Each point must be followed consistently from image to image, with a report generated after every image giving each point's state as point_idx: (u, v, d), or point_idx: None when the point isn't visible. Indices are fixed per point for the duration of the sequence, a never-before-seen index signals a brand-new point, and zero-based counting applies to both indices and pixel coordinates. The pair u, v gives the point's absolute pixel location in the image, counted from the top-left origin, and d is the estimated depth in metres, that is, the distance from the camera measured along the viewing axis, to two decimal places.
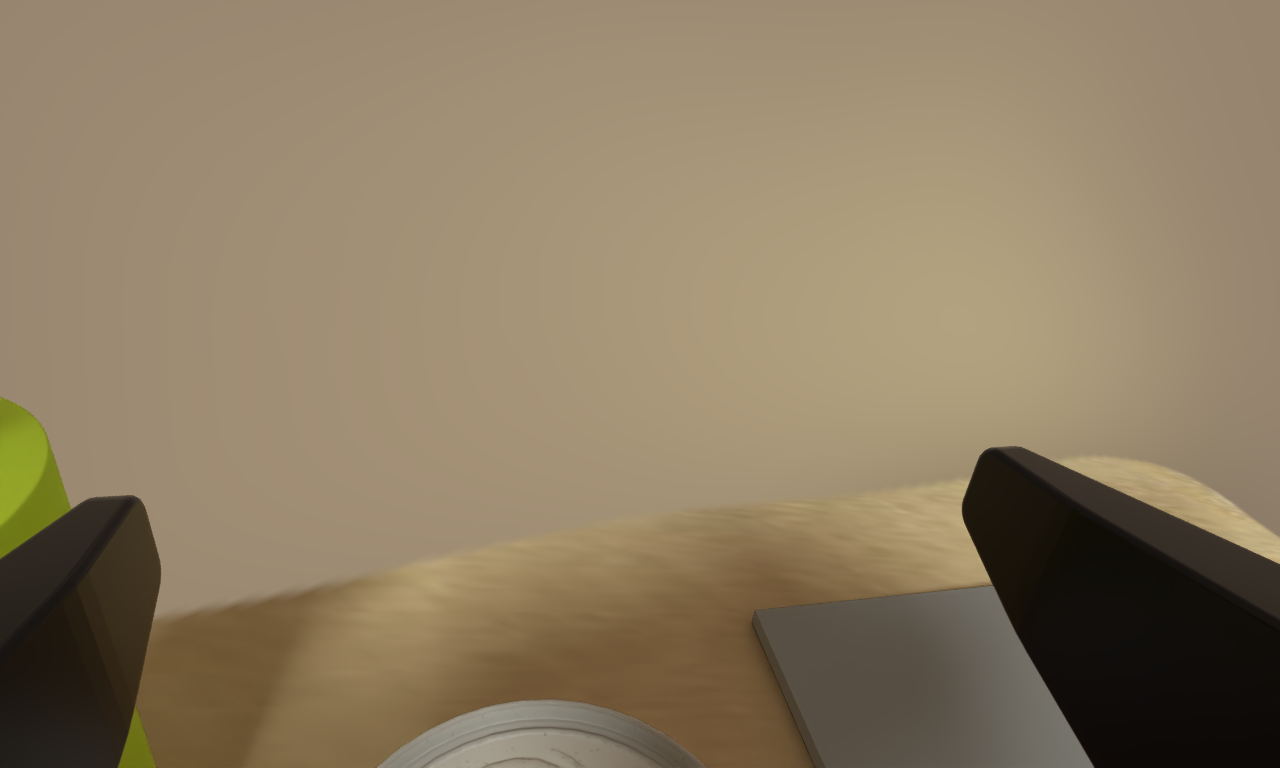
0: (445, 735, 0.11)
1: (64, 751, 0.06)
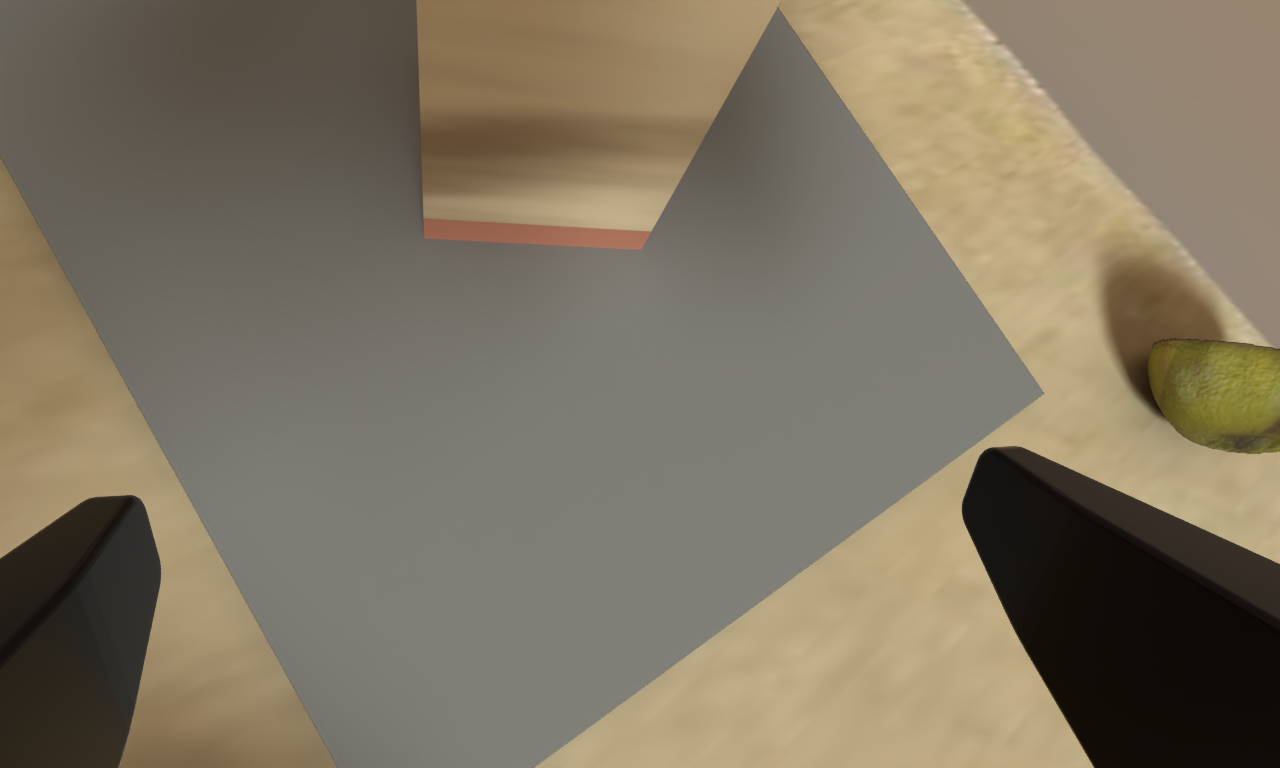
0: None
1: (64, 751, 0.06)
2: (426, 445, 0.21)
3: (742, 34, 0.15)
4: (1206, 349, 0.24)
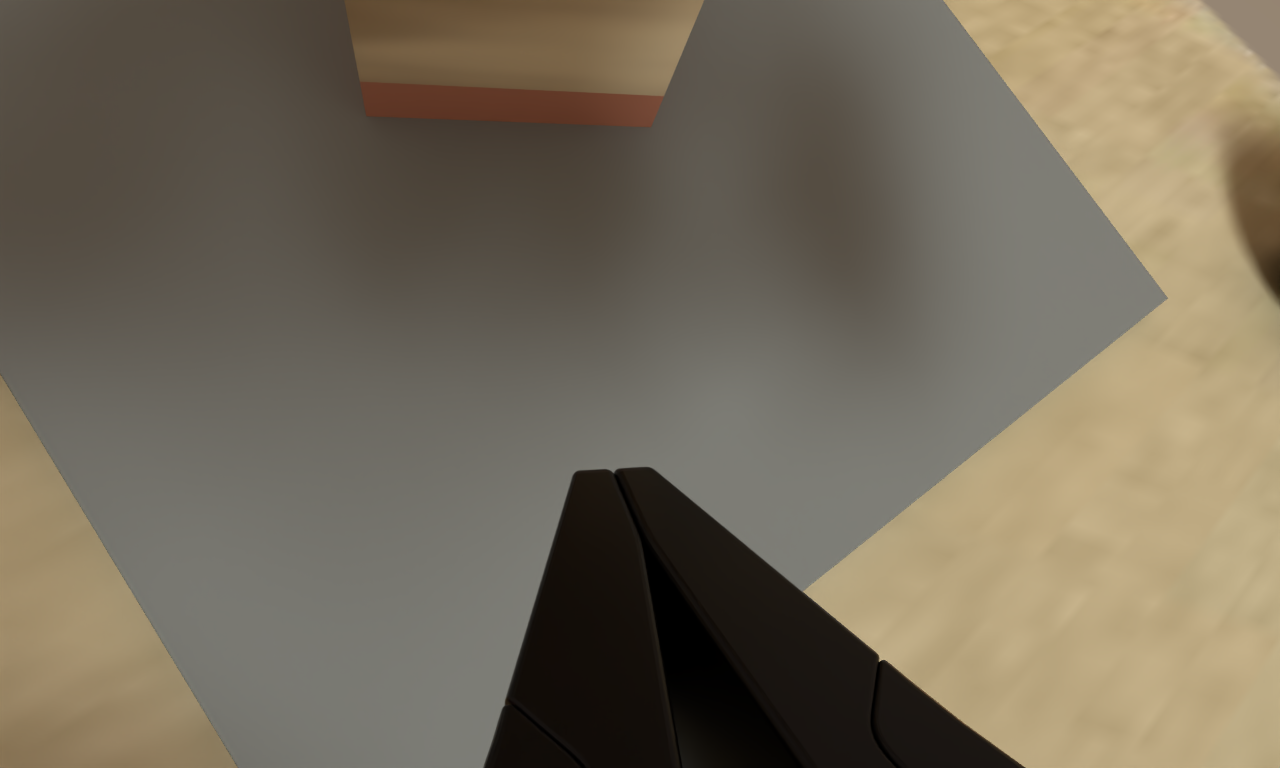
0: None
1: None
2: (377, 383, 0.15)
3: None
4: None
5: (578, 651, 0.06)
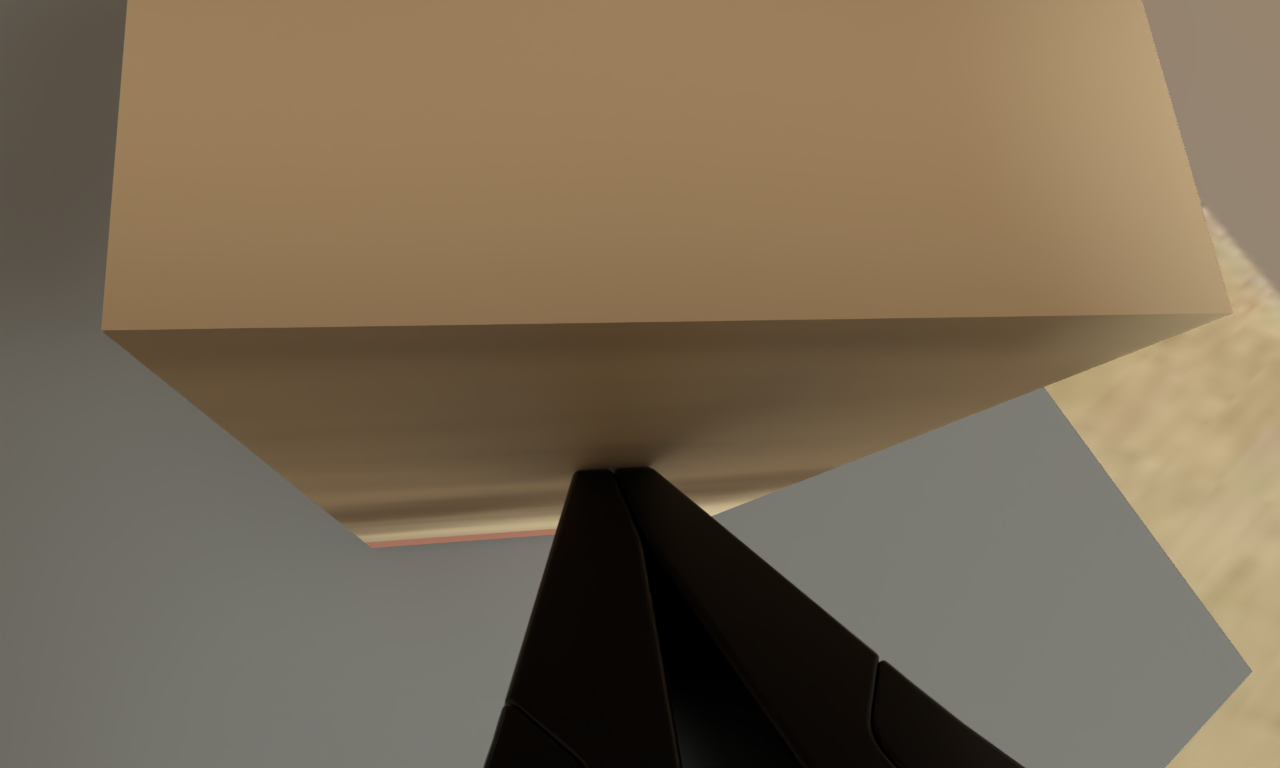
0: None
1: None
2: None
3: (926, 418, 0.07)
4: None
5: (578, 651, 0.06)
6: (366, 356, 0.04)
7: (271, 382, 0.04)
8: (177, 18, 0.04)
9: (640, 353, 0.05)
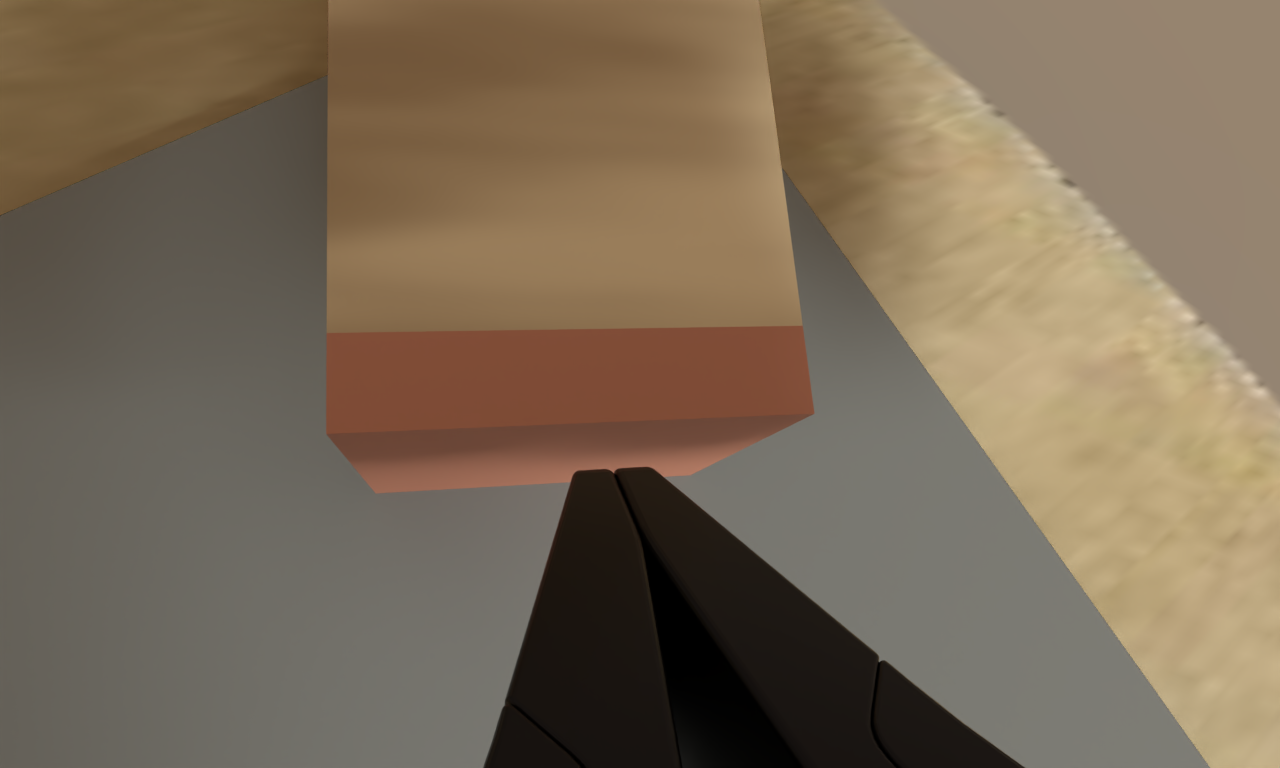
0: None
1: None
2: None
3: None
4: None
5: (578, 651, 0.06)
6: None
7: None
8: None
9: None
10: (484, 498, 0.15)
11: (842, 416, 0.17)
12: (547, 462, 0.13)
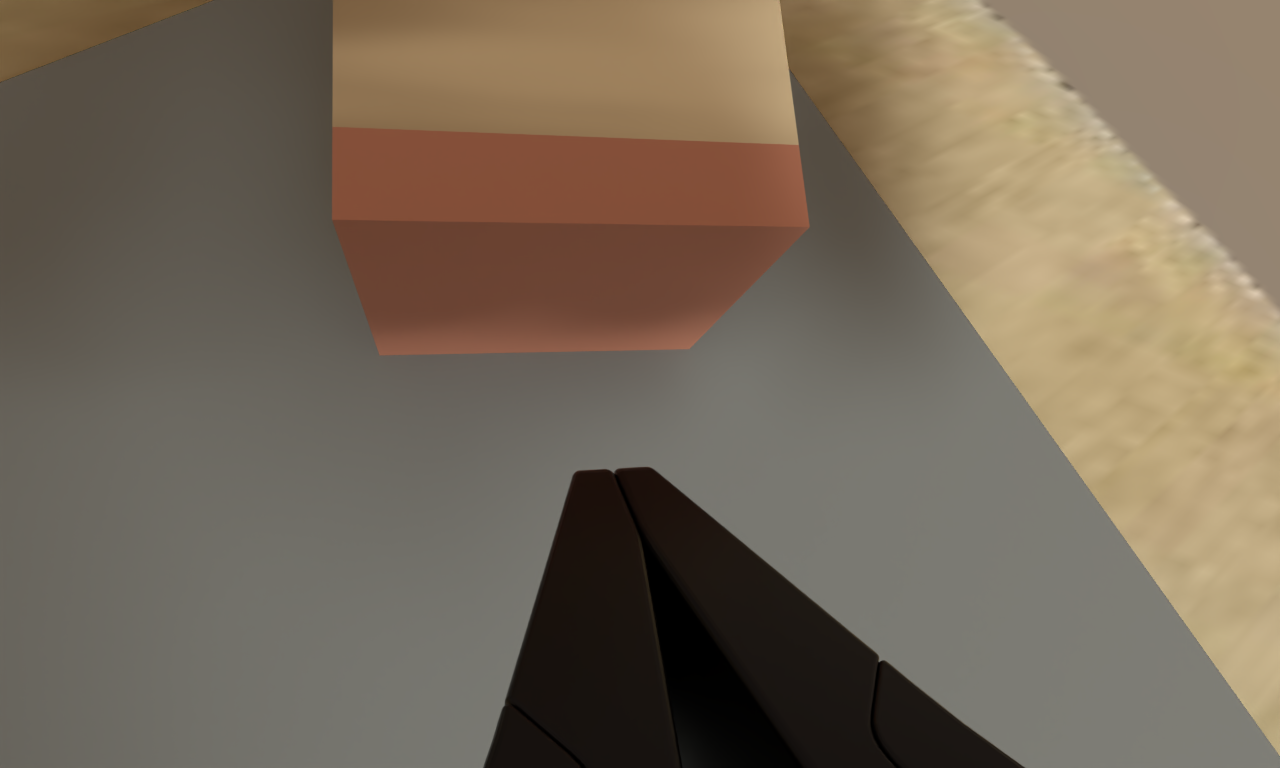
0: None
1: None
2: None
3: None
4: None
5: (578, 651, 0.06)
6: None
7: None
8: None
9: None
10: (486, 363, 0.16)
11: (840, 298, 0.18)
12: (548, 306, 0.13)
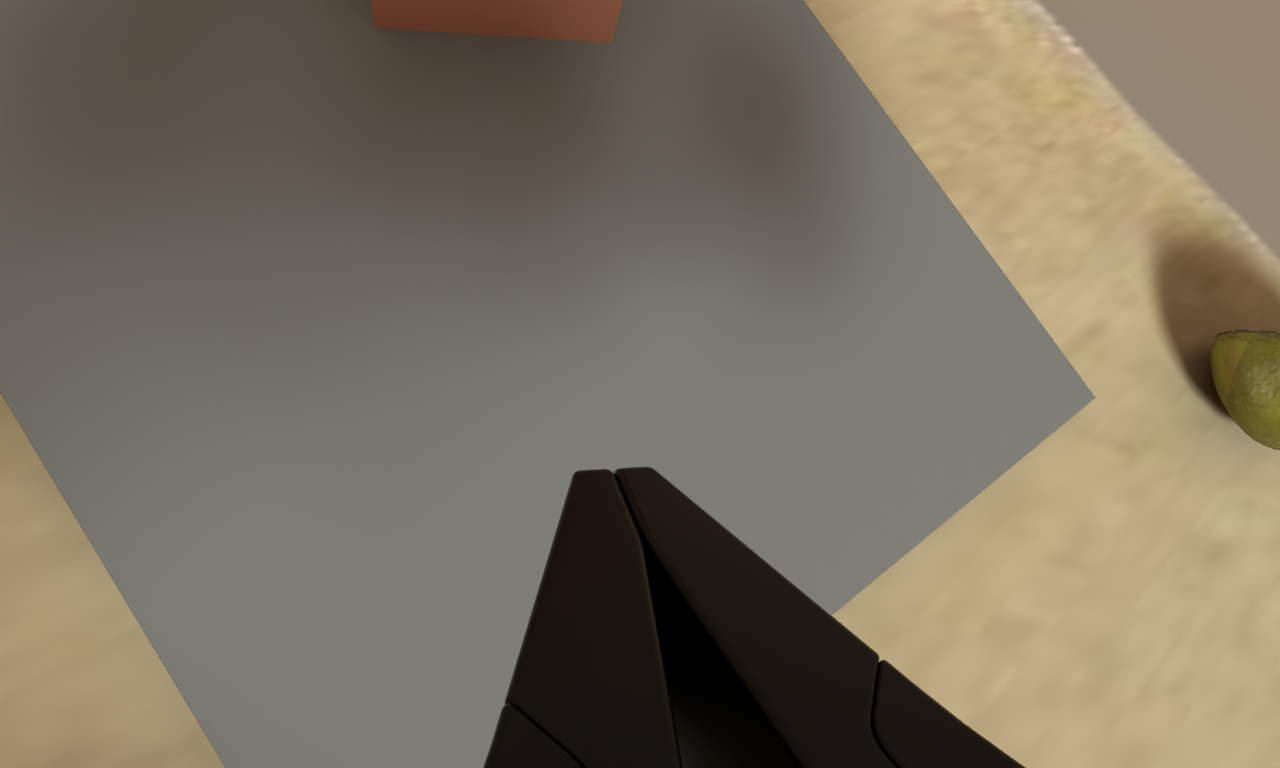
0: None
1: None
2: (387, 496, 0.18)
3: None
4: None
5: (578, 651, 0.06)
6: None
7: None
8: None
9: None
10: (455, 39, 0.21)
11: (730, 17, 0.23)
12: None
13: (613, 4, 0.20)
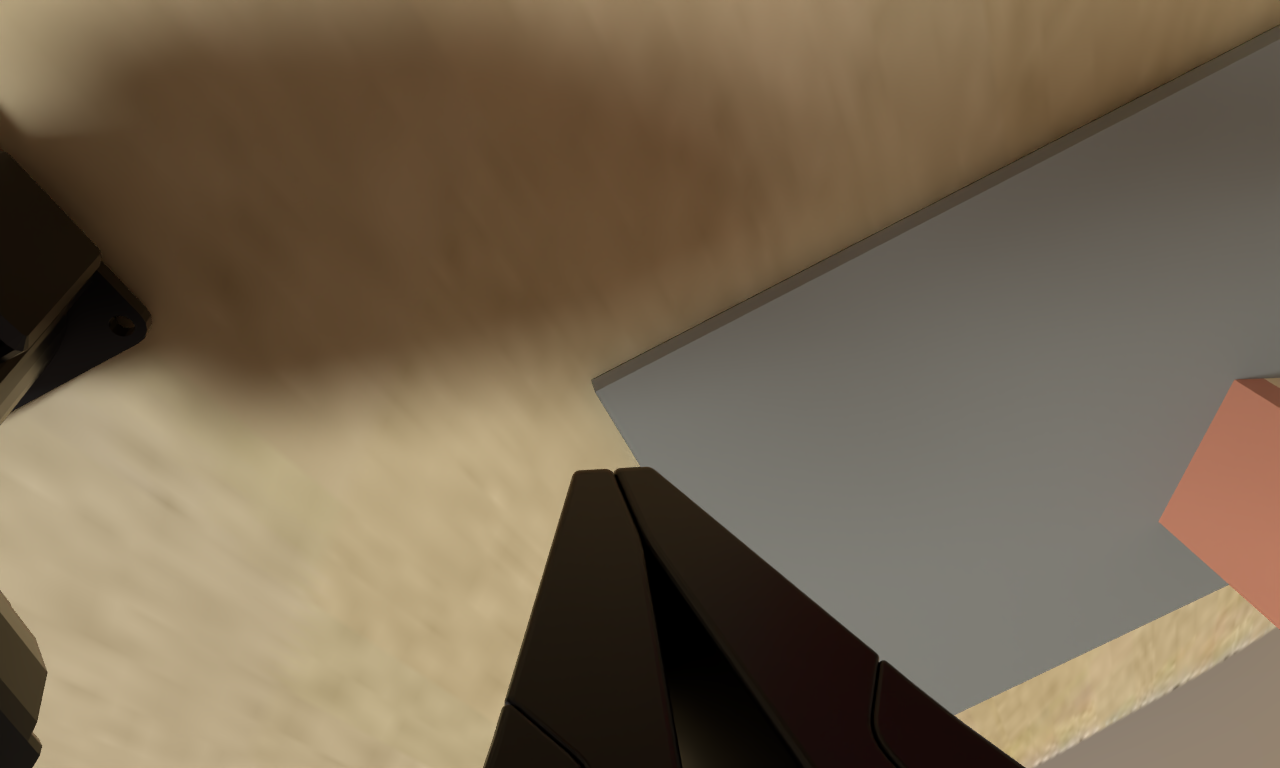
0: None
1: None
2: (911, 396, 0.24)
3: None
4: None
5: (578, 651, 0.06)
6: None
7: None
8: None
9: None
10: (1202, 429, 0.28)
11: (1144, 588, 0.32)
12: (1264, 502, 0.26)
13: (1192, 544, 0.28)
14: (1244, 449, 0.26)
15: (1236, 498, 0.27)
